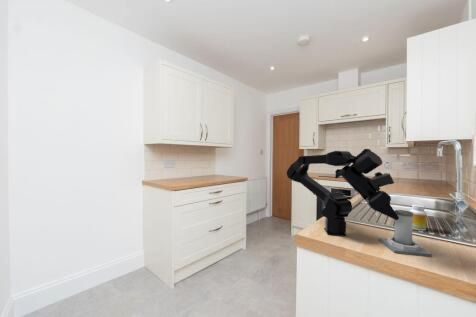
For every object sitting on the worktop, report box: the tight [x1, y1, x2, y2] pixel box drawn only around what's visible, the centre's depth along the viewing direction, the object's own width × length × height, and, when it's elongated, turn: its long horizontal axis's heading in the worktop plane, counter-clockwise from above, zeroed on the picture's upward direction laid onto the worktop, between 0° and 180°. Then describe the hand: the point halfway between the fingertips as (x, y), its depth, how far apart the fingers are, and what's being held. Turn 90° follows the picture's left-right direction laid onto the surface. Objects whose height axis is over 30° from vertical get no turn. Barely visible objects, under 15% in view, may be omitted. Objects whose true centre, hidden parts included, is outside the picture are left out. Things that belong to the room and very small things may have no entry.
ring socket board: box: [378, 236, 433, 258], centre depth 68 cm, size 10×10×2 cm
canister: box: [393, 209, 414, 246], centre depth 68 cm, size 5×5×11 cm
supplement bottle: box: [409, 204, 428, 232], centre depth 87 cm, size 5×5×10 cm
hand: (393, 215), depth 70 cm, fingers open, 9 cm apart
